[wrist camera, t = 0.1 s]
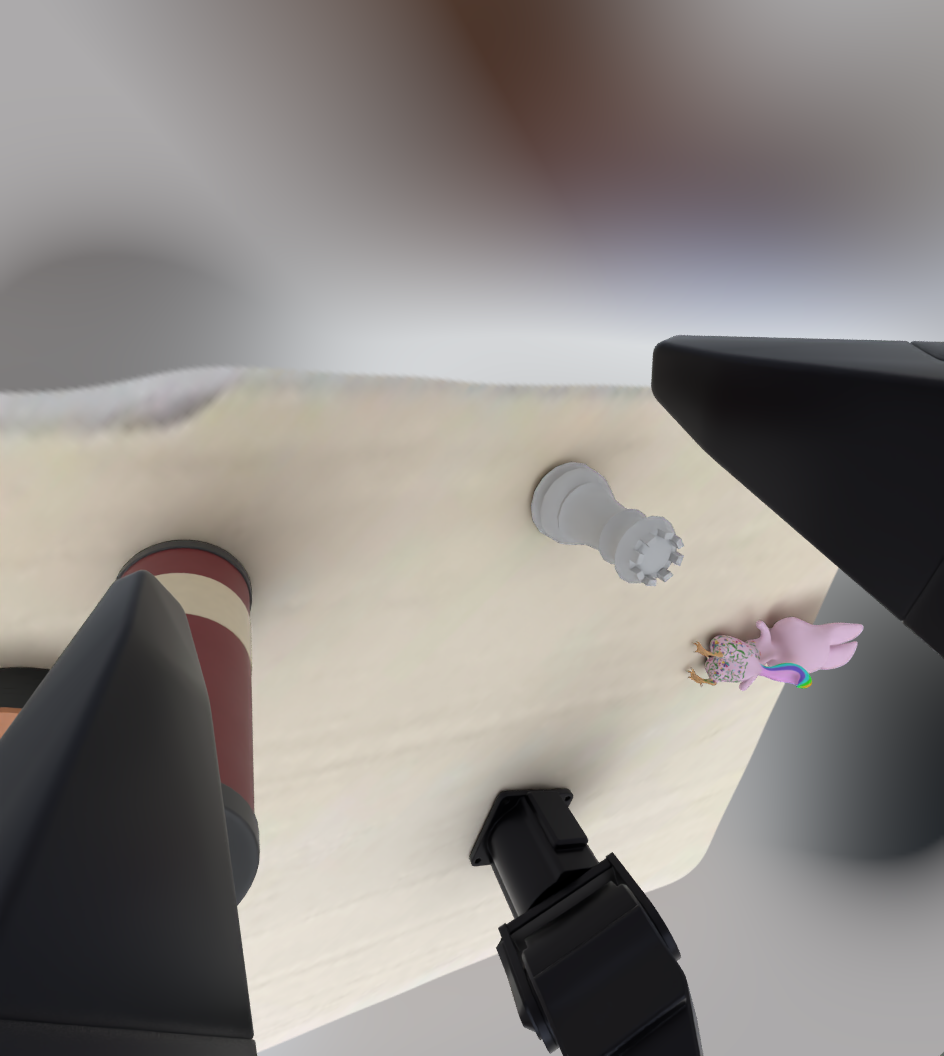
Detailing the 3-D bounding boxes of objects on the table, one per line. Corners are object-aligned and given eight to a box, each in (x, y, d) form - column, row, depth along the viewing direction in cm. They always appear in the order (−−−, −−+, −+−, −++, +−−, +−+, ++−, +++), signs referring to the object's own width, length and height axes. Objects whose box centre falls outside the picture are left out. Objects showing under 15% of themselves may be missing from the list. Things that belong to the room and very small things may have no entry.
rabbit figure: (671, 679, 41) (830, 655, 44) (719, 735, 36) (897, 703, 39) (685, 611, 39) (853, 590, 42) (739, 661, 33) (927, 633, 36)
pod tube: (236, 652, 25) (230, 952, 14) (102, 640, 23) (-43, 996, 11) (264, 552, 24) (285, 790, 12) (126, 528, 21) (-11, 798, 10)
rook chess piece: (548, 448, 27) (648, 498, 21) (609, 472, 30) (718, 525, 23) (514, 525, 28) (599, 596, 22) (575, 543, 31) (670, 613, 24)
